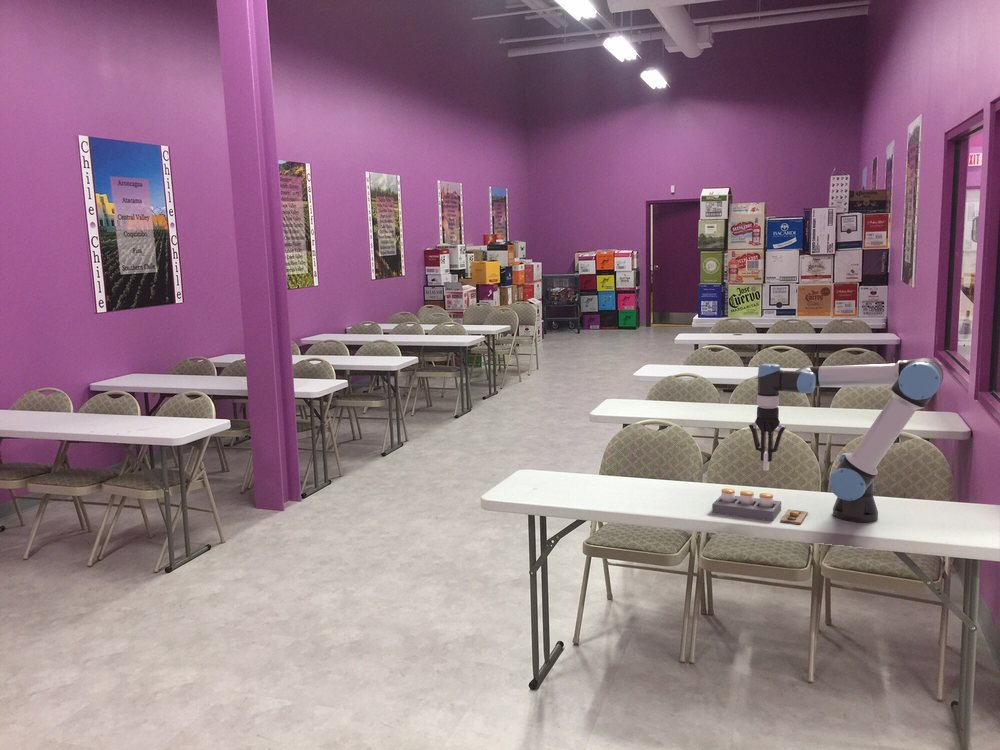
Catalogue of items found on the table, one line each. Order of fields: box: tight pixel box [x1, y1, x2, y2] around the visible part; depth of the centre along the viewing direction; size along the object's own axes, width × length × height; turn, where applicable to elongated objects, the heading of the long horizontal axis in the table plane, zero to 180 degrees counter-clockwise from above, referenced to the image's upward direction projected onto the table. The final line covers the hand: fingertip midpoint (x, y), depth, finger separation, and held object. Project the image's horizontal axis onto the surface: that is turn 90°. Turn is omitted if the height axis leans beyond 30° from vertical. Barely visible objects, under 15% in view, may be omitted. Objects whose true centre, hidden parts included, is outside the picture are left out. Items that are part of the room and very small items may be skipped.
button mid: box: [739, 490, 755, 506], centre depth 304 cm, size 5×5×4 cm
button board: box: [711, 495, 782, 522], centre depth 304 cm, size 22×14×4 cm, turn 60°
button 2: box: [758, 492, 774, 508], centre depth 300 cm, size 5×5×4 cm
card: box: [779, 508, 809, 525], centre depth 296 cm, size 7×14×2 cm, turn 150°
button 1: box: [720, 488, 736, 503], centre depth 307 cm, size 5×5×4 cm
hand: (766, 469), depth 299 cm, fingers closed
